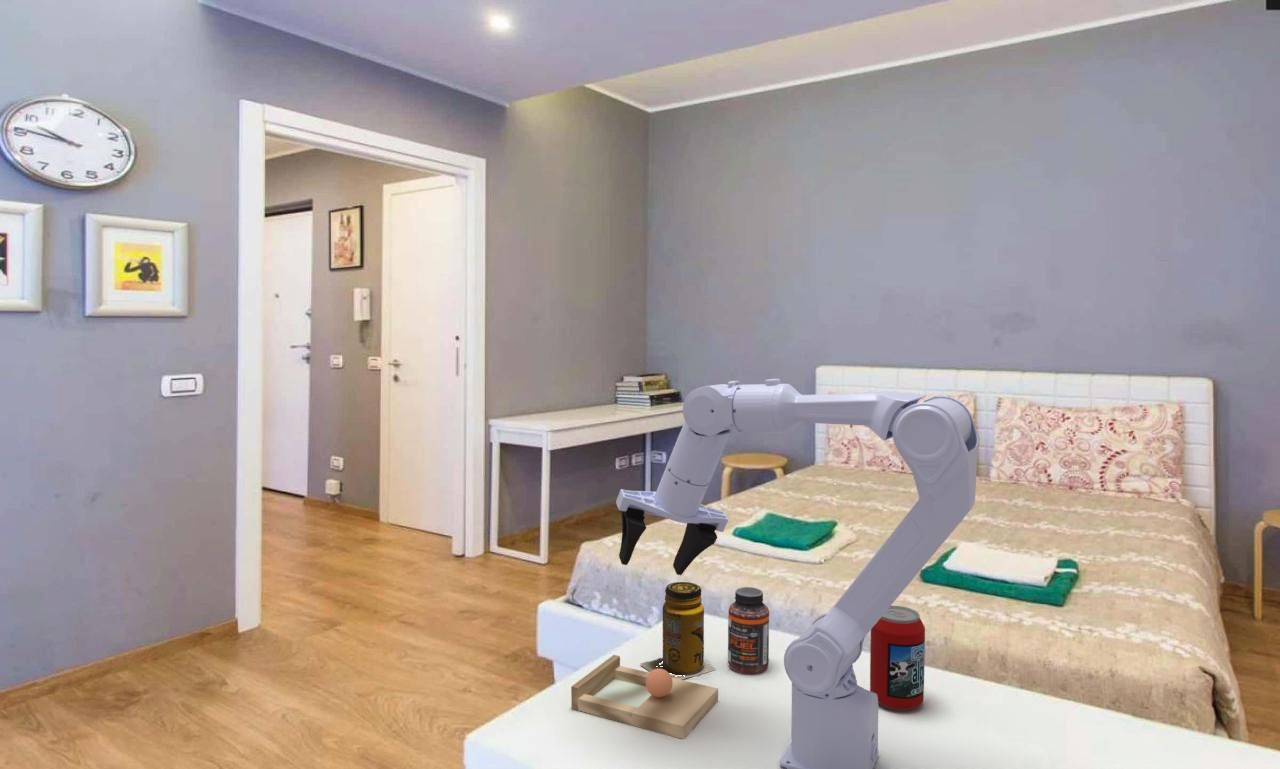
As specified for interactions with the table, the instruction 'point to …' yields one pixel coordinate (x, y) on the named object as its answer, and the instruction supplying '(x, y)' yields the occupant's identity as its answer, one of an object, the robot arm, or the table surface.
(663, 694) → the ball
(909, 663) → the beverage can
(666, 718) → the board
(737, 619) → the supplement bottle
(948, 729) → the table surface
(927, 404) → the robot arm
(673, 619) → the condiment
